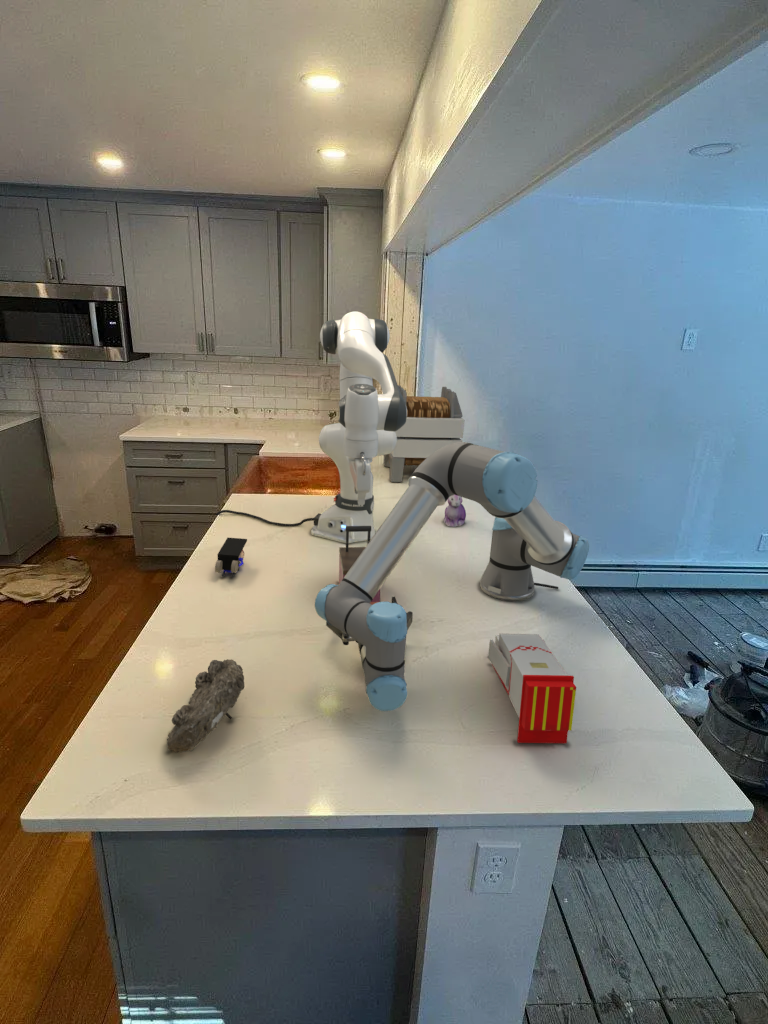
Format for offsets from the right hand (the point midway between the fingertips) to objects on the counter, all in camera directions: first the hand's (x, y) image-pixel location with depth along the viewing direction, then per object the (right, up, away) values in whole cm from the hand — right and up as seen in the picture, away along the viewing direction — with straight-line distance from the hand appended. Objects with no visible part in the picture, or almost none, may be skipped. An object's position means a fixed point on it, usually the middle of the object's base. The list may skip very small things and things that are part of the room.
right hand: (365, 602), depth 139 cm
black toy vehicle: (-40, +5, +28) cm, 50 cm away
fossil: (-28, -17, -31) cm, 45 cm away
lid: (-2, +8, +15) cm, 18 cm away
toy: (+33, -16, -21) cm, 43 cm away
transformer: (+22, +41, +136) cm, 143 cm away
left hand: (-2, +26, +14) cm, 29 cm away
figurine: (+31, +18, +73) cm, 81 cm away
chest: (-3, 0, +18) cm, 18 cm away
